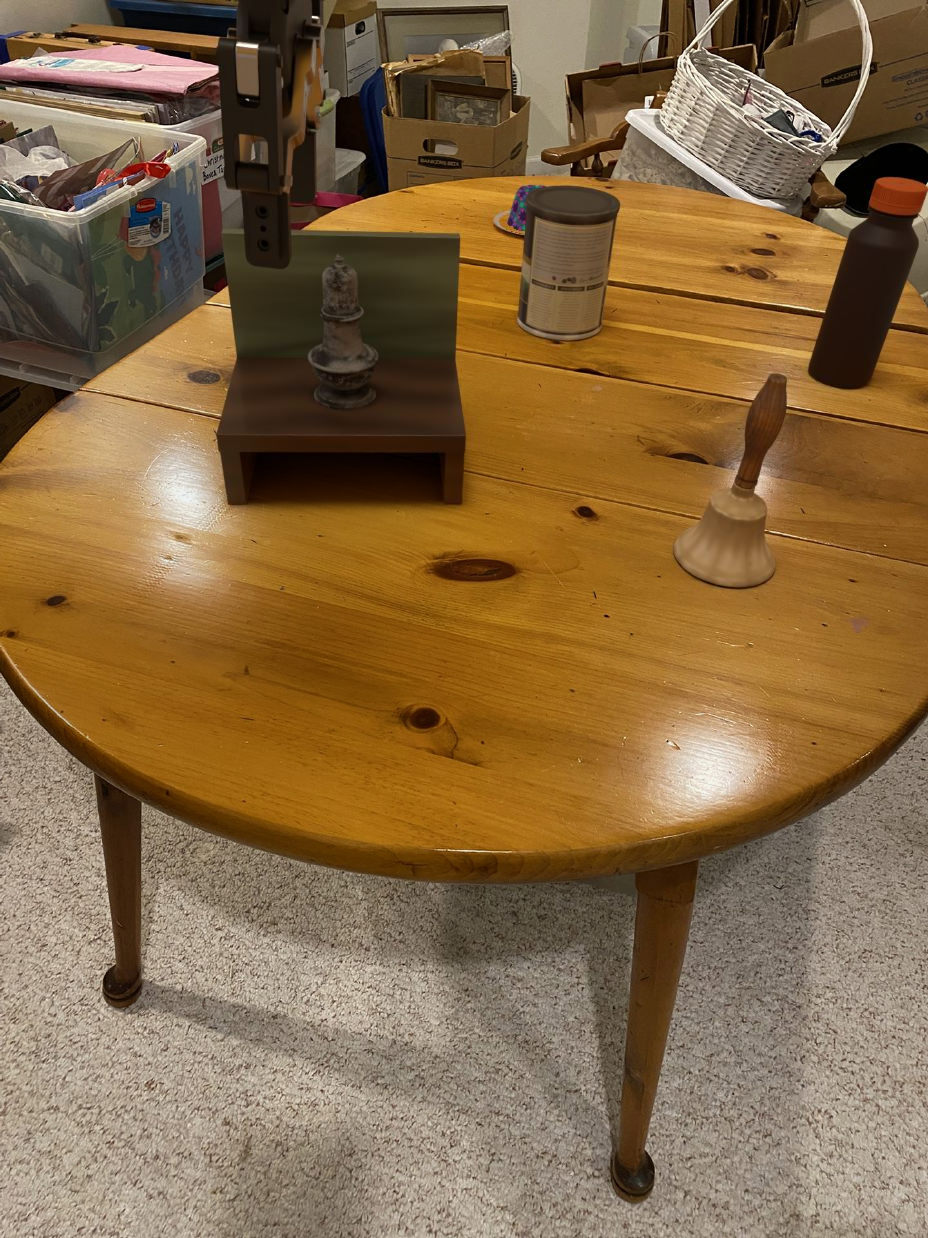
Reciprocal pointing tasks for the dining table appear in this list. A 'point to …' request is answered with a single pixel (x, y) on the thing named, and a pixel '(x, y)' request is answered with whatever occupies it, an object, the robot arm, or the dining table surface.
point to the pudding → (517, 209)
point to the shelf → (391, 324)
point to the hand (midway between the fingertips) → (283, 230)
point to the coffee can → (566, 261)
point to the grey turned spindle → (342, 344)
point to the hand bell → (739, 507)
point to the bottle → (868, 285)
